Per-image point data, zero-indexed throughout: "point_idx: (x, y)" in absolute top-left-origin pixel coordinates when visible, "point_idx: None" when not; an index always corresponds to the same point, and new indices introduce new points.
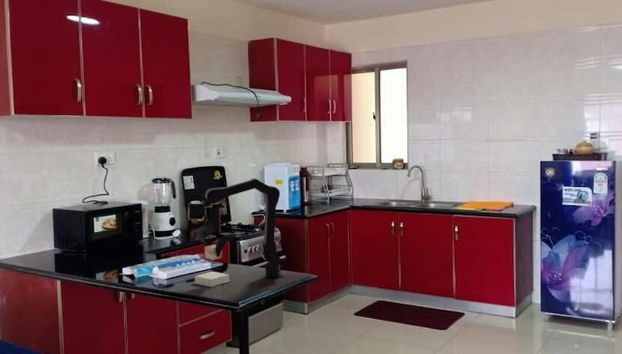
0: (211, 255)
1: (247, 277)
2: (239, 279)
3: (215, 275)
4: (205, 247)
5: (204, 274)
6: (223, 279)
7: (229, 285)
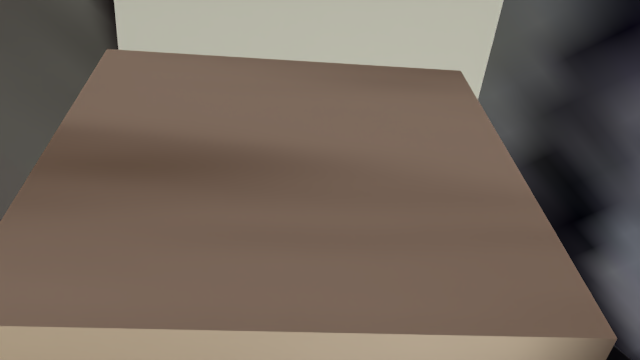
0: (163, 110)
1: None
2: None
3: (260, 52)
4: (556, 306)
5: (459, 13)
6: None
7: (9, 12)
